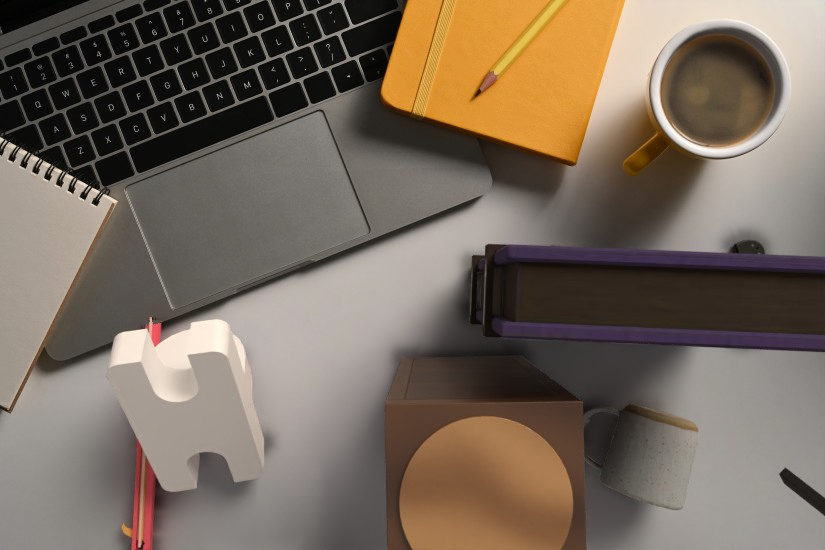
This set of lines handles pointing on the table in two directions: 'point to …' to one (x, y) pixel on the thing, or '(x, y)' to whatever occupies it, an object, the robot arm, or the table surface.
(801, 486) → the robot arm
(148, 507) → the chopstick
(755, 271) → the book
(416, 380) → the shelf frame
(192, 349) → the white slotted bracket
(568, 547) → the brown square coaster
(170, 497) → the table surface
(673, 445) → the ceramic mug
